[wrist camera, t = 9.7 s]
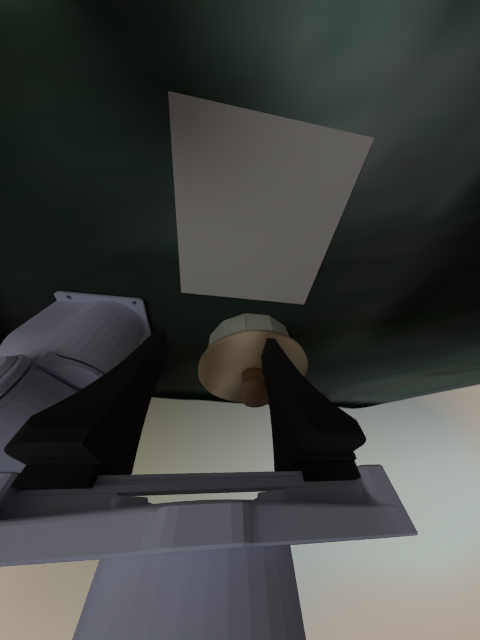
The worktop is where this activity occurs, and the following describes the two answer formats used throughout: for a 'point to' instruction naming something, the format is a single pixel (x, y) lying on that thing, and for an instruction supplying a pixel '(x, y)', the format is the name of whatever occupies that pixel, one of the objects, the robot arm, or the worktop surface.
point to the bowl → (246, 325)
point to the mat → (256, 198)
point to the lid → (244, 365)
